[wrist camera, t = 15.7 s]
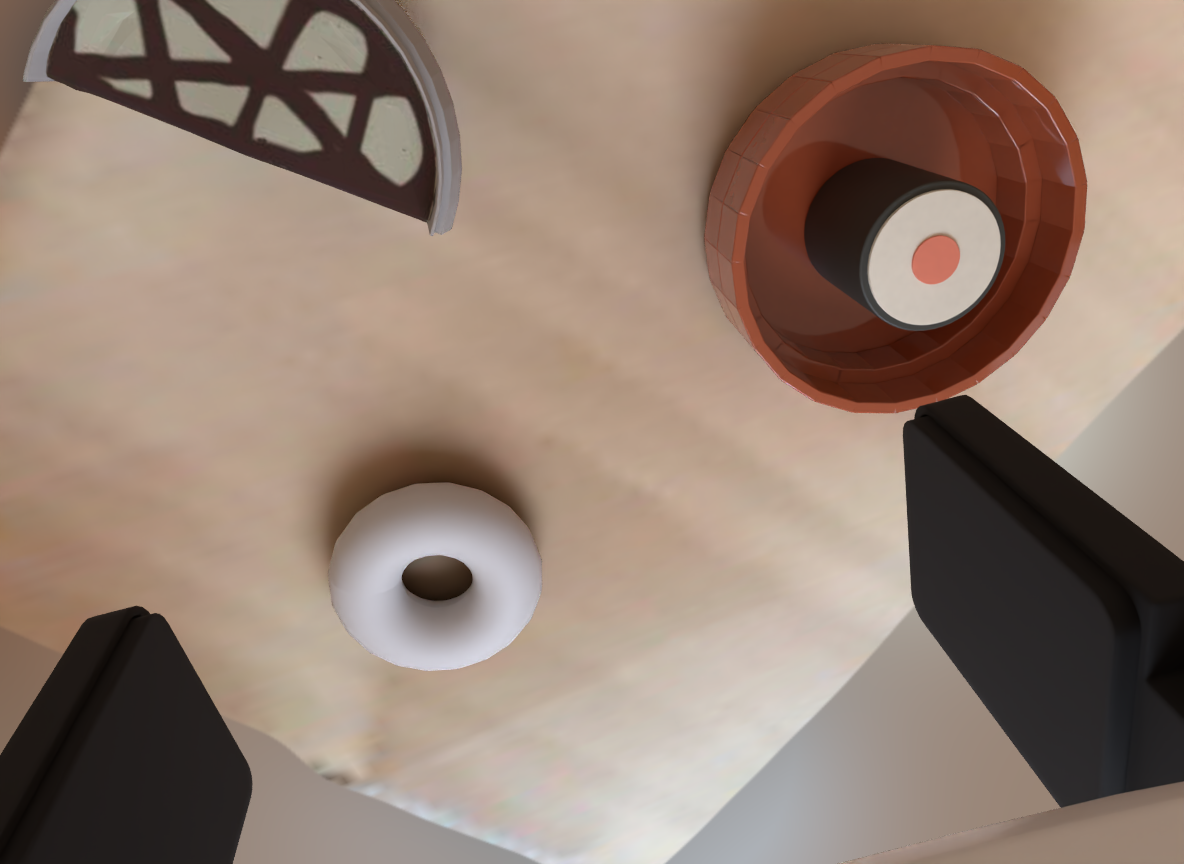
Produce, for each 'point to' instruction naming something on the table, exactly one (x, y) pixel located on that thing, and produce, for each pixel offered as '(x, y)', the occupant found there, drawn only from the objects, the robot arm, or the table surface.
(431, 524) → the donut
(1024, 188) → the bowl
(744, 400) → the table surface
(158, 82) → the food container
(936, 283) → the sushi roll
